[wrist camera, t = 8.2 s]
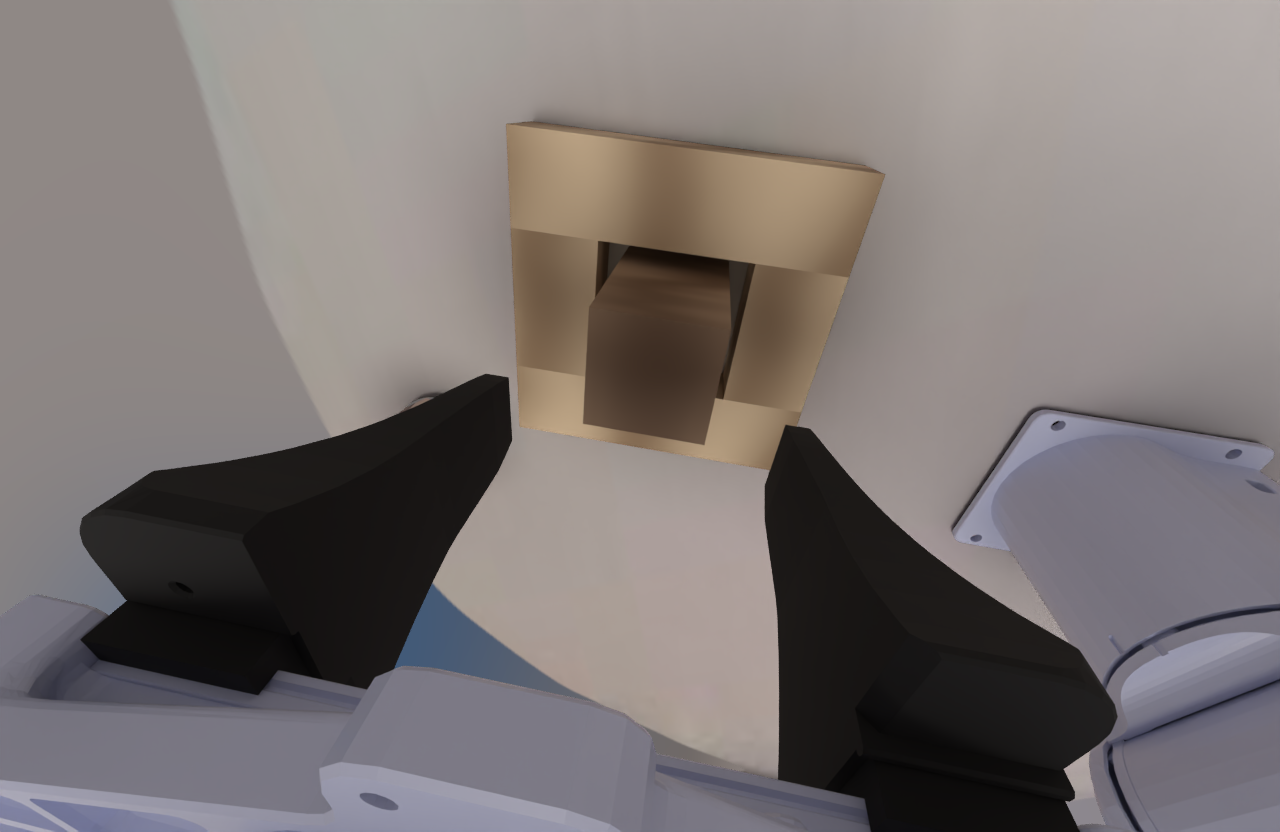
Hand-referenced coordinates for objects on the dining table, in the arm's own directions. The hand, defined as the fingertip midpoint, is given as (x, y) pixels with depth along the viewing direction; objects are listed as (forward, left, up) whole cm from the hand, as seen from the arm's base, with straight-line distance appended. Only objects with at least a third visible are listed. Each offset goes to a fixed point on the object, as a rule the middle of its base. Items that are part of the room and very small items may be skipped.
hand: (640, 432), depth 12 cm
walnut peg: (0, 0, -9) cm, 9 cm away
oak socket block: (0, 0, -10) cm, 10 cm away
